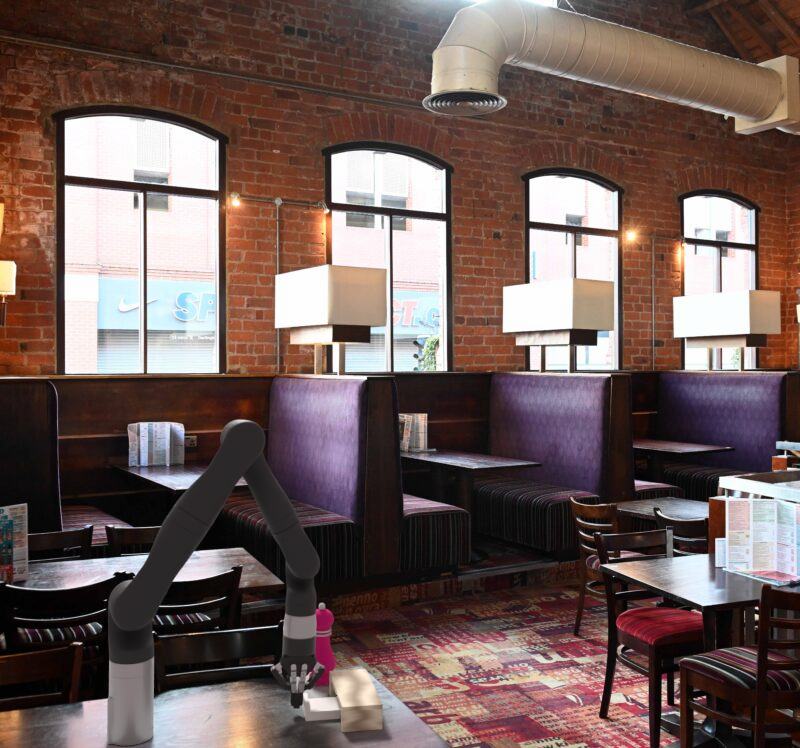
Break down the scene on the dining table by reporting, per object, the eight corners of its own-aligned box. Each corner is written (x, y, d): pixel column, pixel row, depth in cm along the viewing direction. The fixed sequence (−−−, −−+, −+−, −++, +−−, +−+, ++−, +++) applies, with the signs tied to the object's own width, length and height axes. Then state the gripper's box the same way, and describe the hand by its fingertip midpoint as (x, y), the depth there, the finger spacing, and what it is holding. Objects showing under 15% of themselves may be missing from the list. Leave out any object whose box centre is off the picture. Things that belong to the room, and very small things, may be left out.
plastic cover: (305, 721, 198) (305, 705, 198) (302, 707, 206) (302, 692, 206) (371, 716, 201) (371, 701, 201) (365, 703, 209) (365, 688, 209)
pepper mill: (341, 681, 223) (342, 603, 223) (320, 688, 218) (320, 608, 217) (322, 674, 228) (323, 597, 228) (301, 681, 223) (301, 603, 222)
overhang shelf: (342, 732, 192) (342, 707, 192) (329, 693, 215) (329, 671, 215) (382, 729, 194) (382, 704, 194) (365, 691, 216) (365, 668, 216)
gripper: (271, 637, 197) (268, 714, 197) (330, 636, 199) (326, 712, 199) (269, 628, 204) (266, 702, 204) (326, 627, 207) (323, 700, 207)
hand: (296, 707), depth 202 cm, fingers closed
